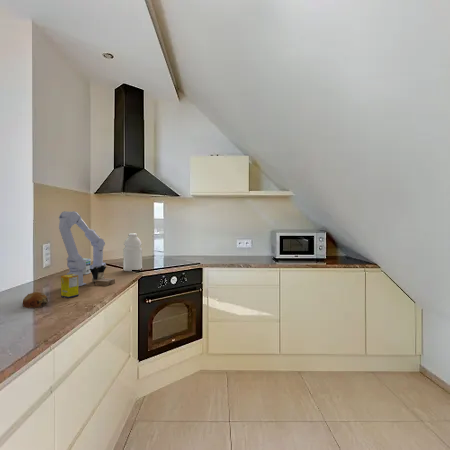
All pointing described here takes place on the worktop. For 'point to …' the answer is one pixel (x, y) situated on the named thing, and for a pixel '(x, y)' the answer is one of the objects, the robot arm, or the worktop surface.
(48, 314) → the worktop surface
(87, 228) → the robot arm
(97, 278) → the maple cube
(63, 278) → the supplement box
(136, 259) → the bottle
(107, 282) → the walnut block
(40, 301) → the bread roll
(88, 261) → the light bulb box
